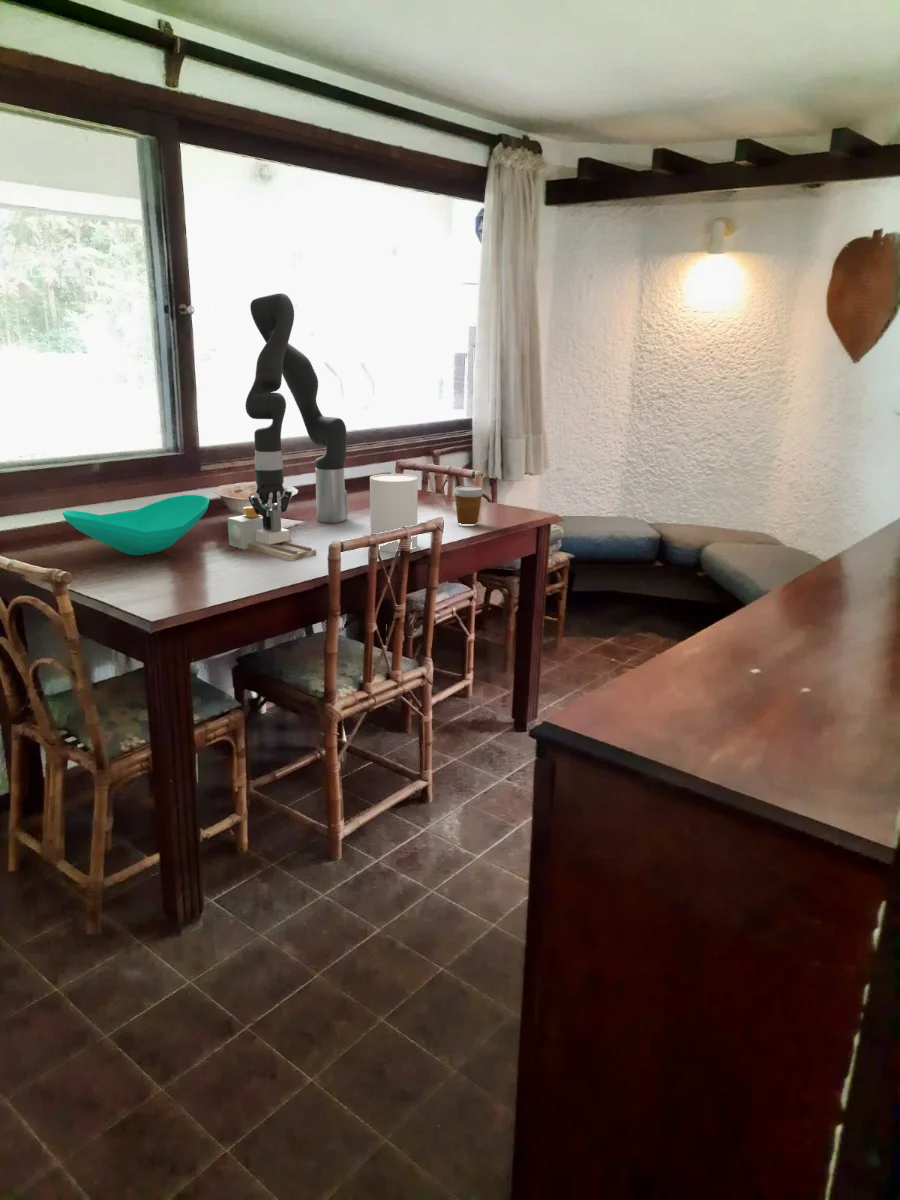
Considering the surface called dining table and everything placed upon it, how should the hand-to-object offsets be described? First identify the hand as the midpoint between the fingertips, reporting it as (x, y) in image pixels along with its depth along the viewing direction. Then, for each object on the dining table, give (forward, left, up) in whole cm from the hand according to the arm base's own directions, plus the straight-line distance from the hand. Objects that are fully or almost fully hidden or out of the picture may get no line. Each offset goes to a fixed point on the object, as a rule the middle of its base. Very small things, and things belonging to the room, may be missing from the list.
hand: (272, 528), depth 234 cm
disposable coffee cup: (-64, +18, -6) cm, 67 cm away
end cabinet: (0, -9, -6) cm, 11 cm away
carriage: (0, 0, -4) cm, 4 cm away
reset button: (0, -9, +2) cm, 9 cm away
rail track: (0, +4, -6) cm, 7 cm away
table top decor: (+27, -23, -6) cm, 36 cm away
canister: (-27, +21, -6) cm, 35 cm away
